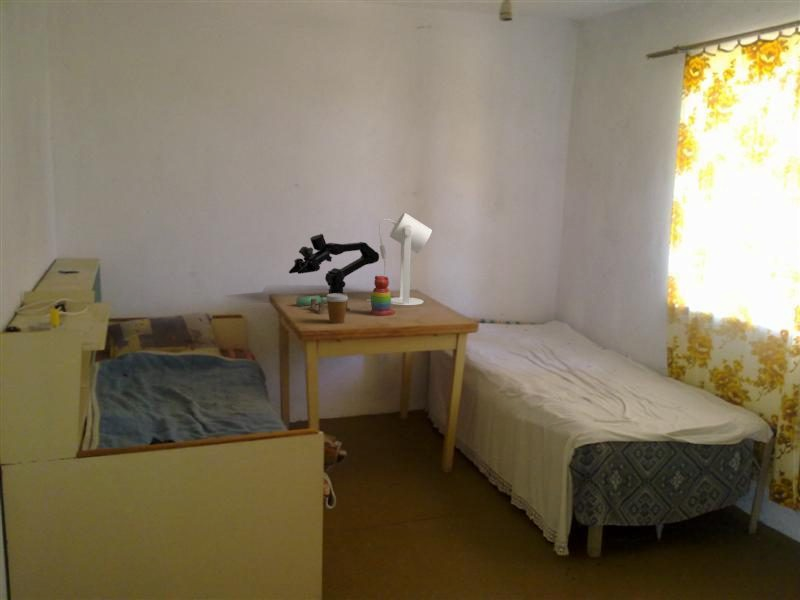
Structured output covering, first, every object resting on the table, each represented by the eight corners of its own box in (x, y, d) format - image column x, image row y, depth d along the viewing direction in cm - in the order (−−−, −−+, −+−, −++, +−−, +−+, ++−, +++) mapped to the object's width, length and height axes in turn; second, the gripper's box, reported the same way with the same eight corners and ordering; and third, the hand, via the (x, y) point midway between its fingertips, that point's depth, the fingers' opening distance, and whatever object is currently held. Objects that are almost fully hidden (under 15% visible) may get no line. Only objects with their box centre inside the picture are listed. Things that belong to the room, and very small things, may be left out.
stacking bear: (396, 312, 305) (397, 275, 302) (386, 317, 296) (387, 278, 293) (375, 310, 310) (376, 273, 306) (365, 314, 301) (366, 276, 297)
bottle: (300, 306, 313) (299, 297, 313) (296, 306, 317) (296, 296, 316) (331, 303, 322) (331, 294, 322) (327, 303, 326) (327, 294, 325)
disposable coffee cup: (326, 319, 289) (326, 293, 286) (347, 319, 290) (348, 293, 287) (325, 324, 279) (325, 297, 277) (347, 324, 280) (348, 297, 278)
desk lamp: (432, 305, 323) (435, 214, 314) (367, 305, 320) (368, 213, 311) (426, 297, 343) (429, 211, 335) (366, 297, 341) (367, 210, 332)
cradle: (338, 306, 318) (338, 296, 317) (349, 310, 308) (350, 300, 307) (308, 309, 309) (308, 298, 308) (319, 314, 299) (319, 303, 298)
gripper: (302, 243, 331) (277, 258, 323) (320, 242, 316) (295, 258, 308) (311, 263, 334) (287, 278, 327) (330, 263, 319) (305, 278, 311)
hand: (293, 272), depth 318 cm, fingers open, 9 cm apart
